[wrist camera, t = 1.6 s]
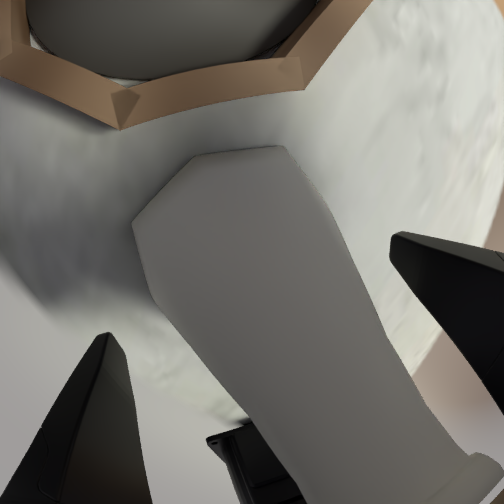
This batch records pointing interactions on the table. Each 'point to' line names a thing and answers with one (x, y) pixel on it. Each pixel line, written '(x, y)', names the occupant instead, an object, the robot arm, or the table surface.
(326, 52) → the brown octagonal tray
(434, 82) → the table surface
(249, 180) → the flask
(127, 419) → the robot arm
